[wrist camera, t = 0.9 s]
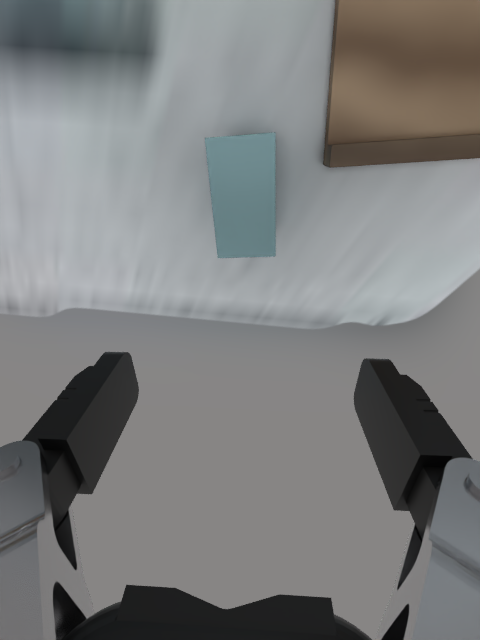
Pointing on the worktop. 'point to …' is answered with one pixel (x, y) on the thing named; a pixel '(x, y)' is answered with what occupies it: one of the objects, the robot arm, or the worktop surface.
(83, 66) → the worktop surface
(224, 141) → the cabinet block
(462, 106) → the wall rack
